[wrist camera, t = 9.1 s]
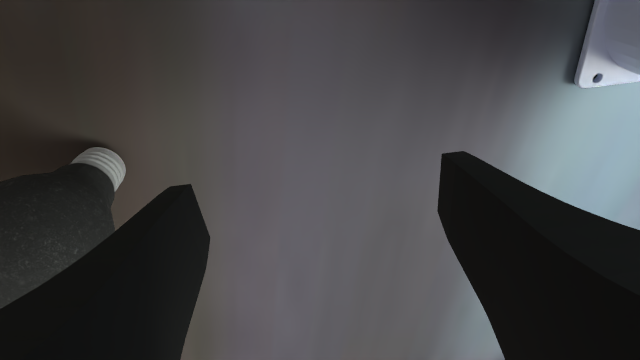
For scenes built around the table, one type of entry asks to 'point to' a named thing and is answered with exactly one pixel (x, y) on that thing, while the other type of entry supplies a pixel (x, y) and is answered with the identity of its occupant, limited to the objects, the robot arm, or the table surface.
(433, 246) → the table surface
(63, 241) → the light bulb
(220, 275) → the table surface
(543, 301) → the robot arm
